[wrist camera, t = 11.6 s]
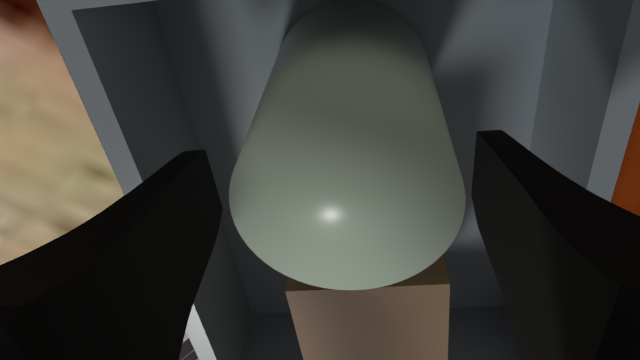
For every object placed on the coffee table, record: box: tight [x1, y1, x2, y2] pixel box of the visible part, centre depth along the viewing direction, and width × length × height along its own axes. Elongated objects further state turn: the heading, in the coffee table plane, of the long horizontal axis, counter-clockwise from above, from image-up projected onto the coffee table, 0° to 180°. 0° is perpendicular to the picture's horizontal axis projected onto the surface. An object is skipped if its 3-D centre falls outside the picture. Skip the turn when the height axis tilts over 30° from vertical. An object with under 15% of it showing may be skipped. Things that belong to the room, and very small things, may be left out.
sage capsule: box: [229, 0, 466, 290], centre depth 13 cm, size 5×5×7 cm
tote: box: [36, 0, 640, 360], centre depth 17 cm, size 17×13×5 cm
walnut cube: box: [285, 254, 450, 360], centre depth 18 cm, size 5×5×5 cm
